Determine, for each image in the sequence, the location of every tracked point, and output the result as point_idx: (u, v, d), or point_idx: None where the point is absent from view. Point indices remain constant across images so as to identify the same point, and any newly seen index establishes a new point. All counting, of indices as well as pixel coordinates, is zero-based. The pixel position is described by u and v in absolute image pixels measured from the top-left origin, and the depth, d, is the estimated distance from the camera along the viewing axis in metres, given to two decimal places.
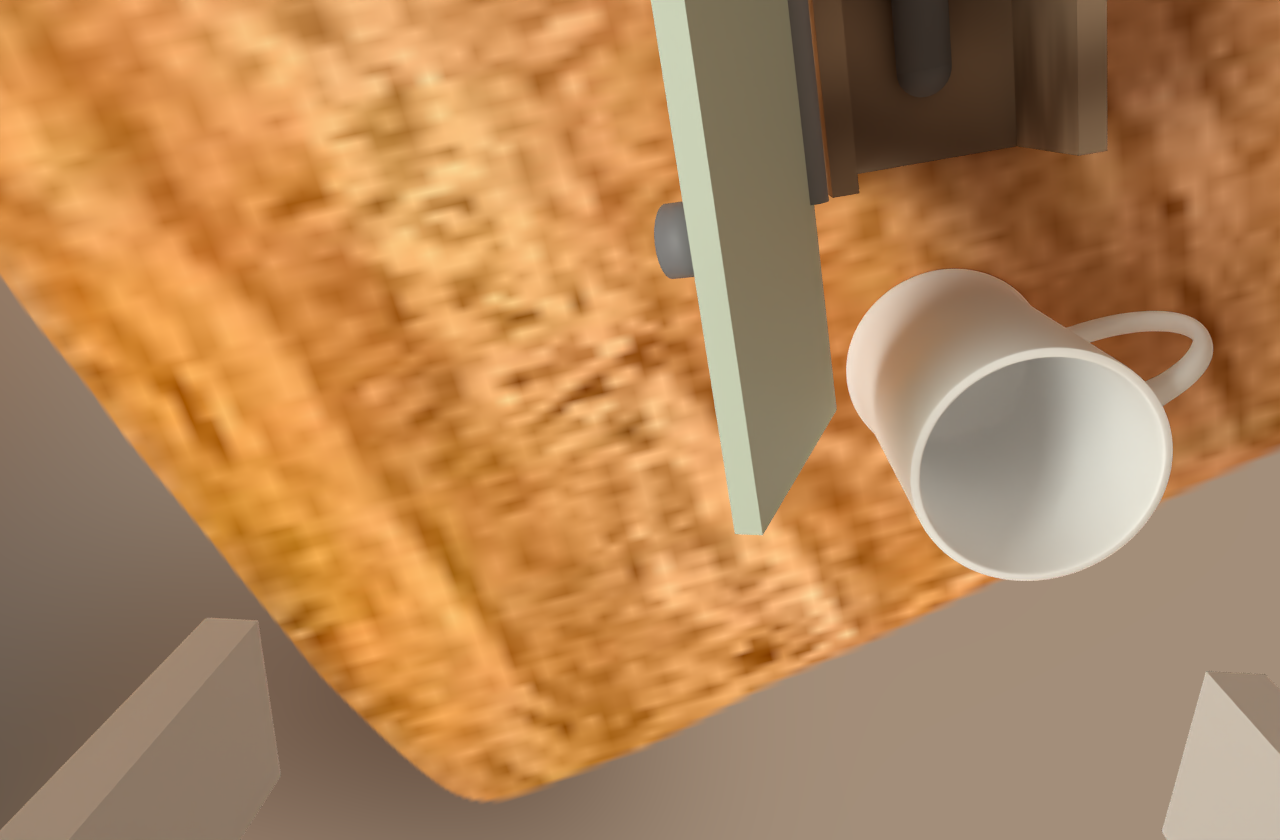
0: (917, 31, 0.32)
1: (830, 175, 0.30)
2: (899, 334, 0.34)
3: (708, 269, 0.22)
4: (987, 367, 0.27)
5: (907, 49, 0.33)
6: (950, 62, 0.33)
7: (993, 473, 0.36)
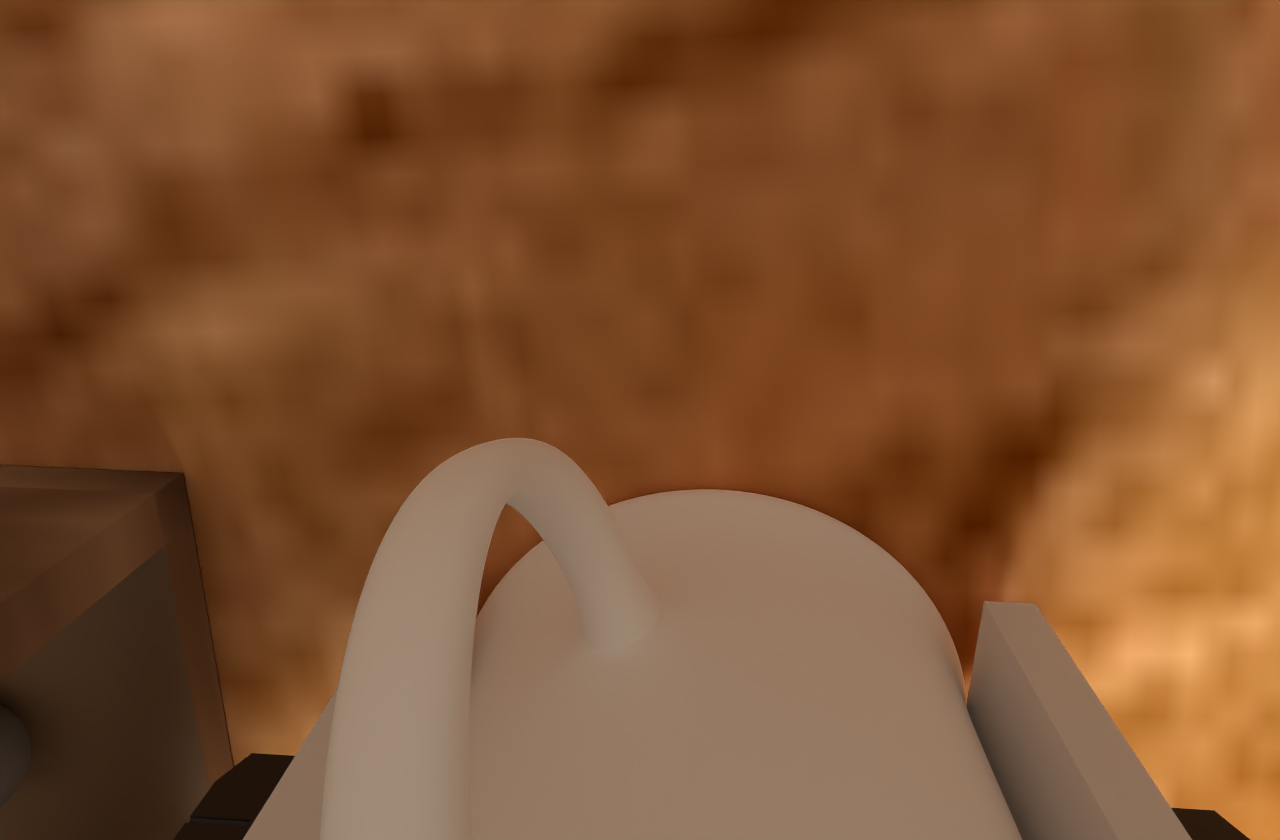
0: None
1: None
2: None
3: None
4: None
5: None
6: None
7: None
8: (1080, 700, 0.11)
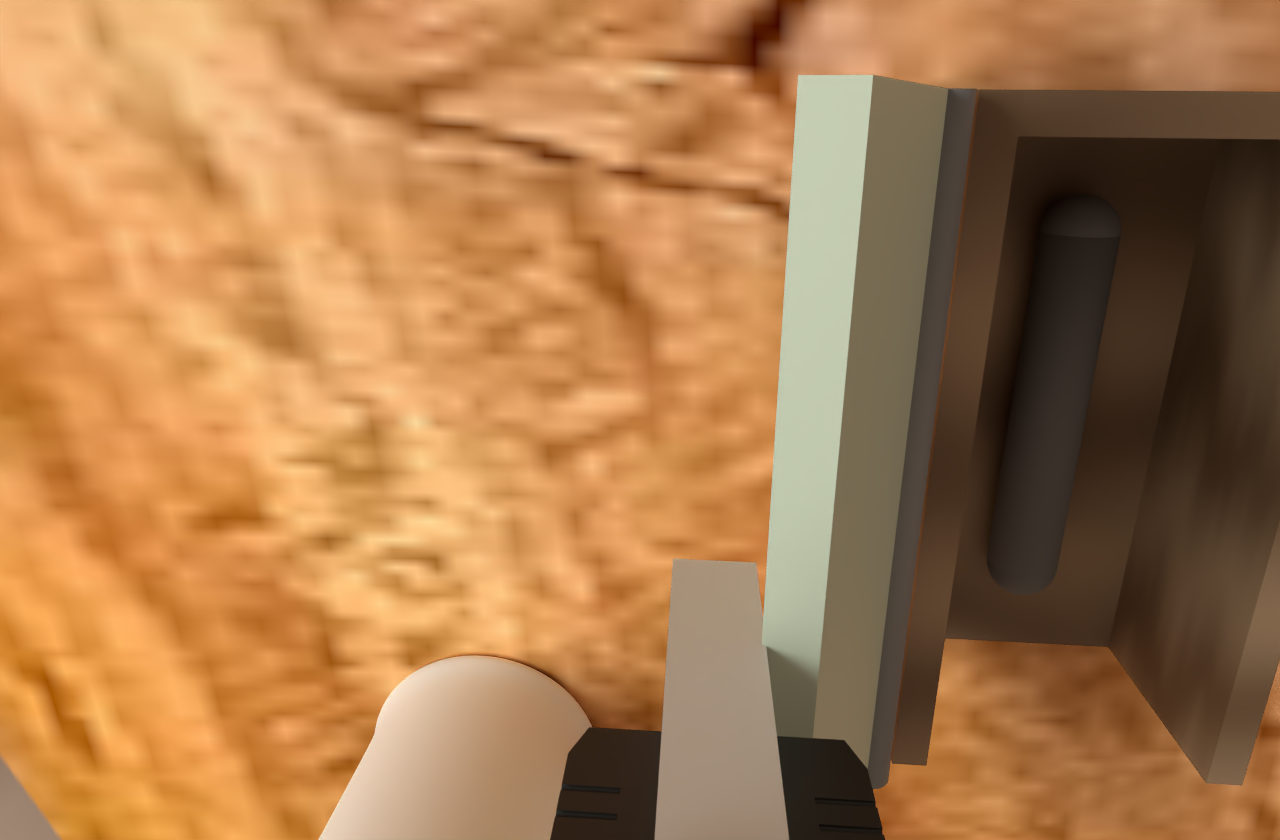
0: (1026, 535, 0.26)
1: (895, 738, 0.24)
2: (365, 768, 0.28)
3: None
4: None
5: (1009, 548, 0.26)
6: (1056, 569, 0.27)
7: None
8: (748, 644, 0.12)
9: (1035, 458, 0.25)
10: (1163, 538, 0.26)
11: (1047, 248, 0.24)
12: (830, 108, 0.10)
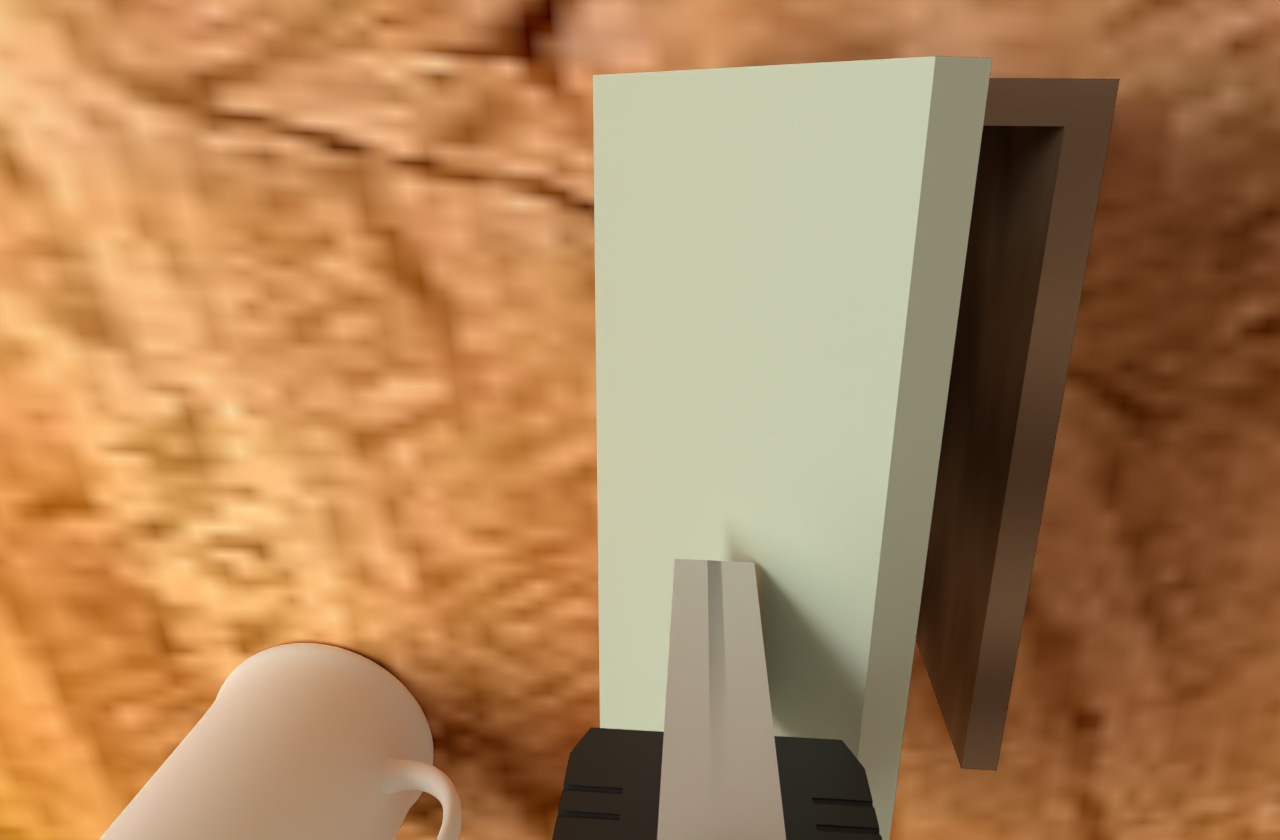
0: None
1: None
2: (174, 752, 0.29)
3: None
4: None
5: None
6: None
7: None
8: (745, 644, 0.12)
9: None
10: (944, 526, 0.26)
11: None
12: (958, 90, 0.10)
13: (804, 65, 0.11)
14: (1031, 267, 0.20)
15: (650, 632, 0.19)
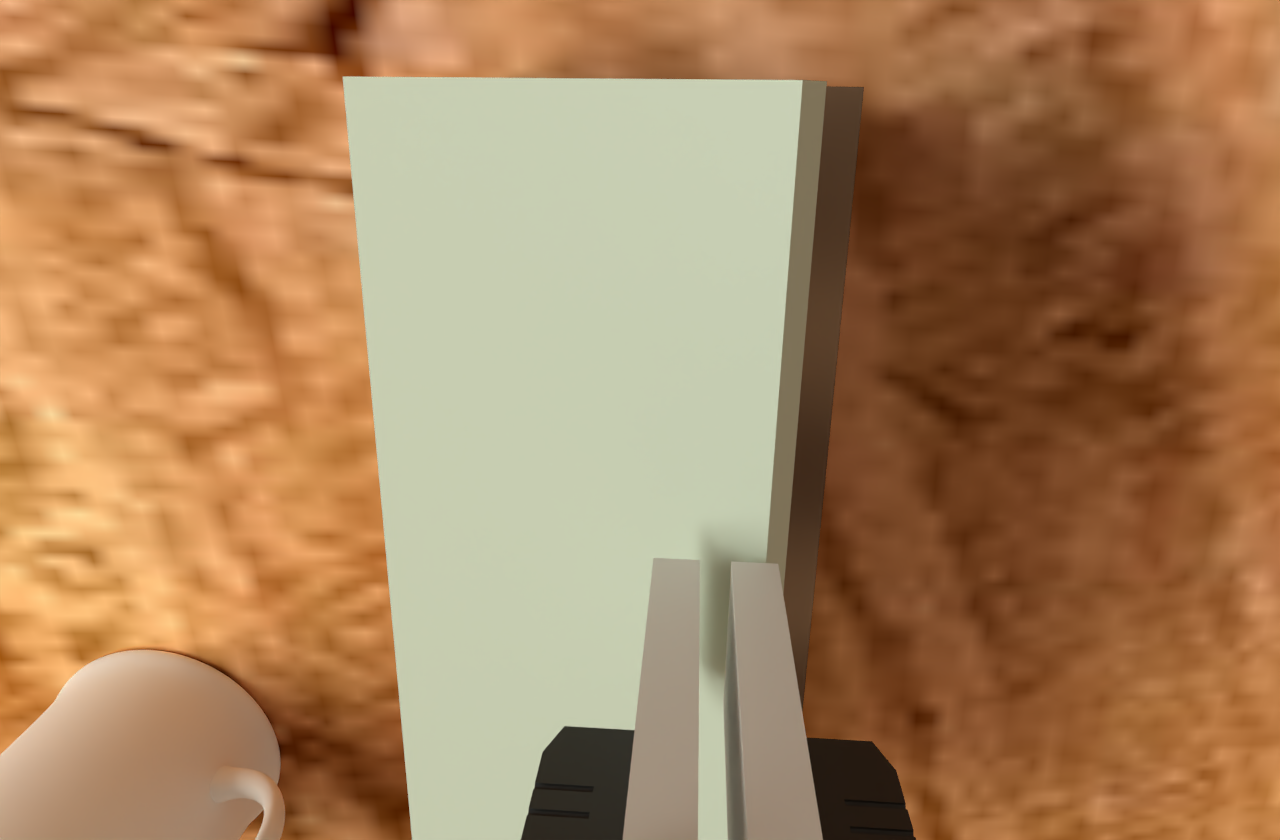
0: None
1: None
2: None
3: None
4: None
5: None
6: None
7: None
8: (773, 645, 0.12)
9: None
10: None
11: None
12: (812, 106, 0.12)
13: (655, 80, 0.13)
14: None
15: (478, 624, 0.19)
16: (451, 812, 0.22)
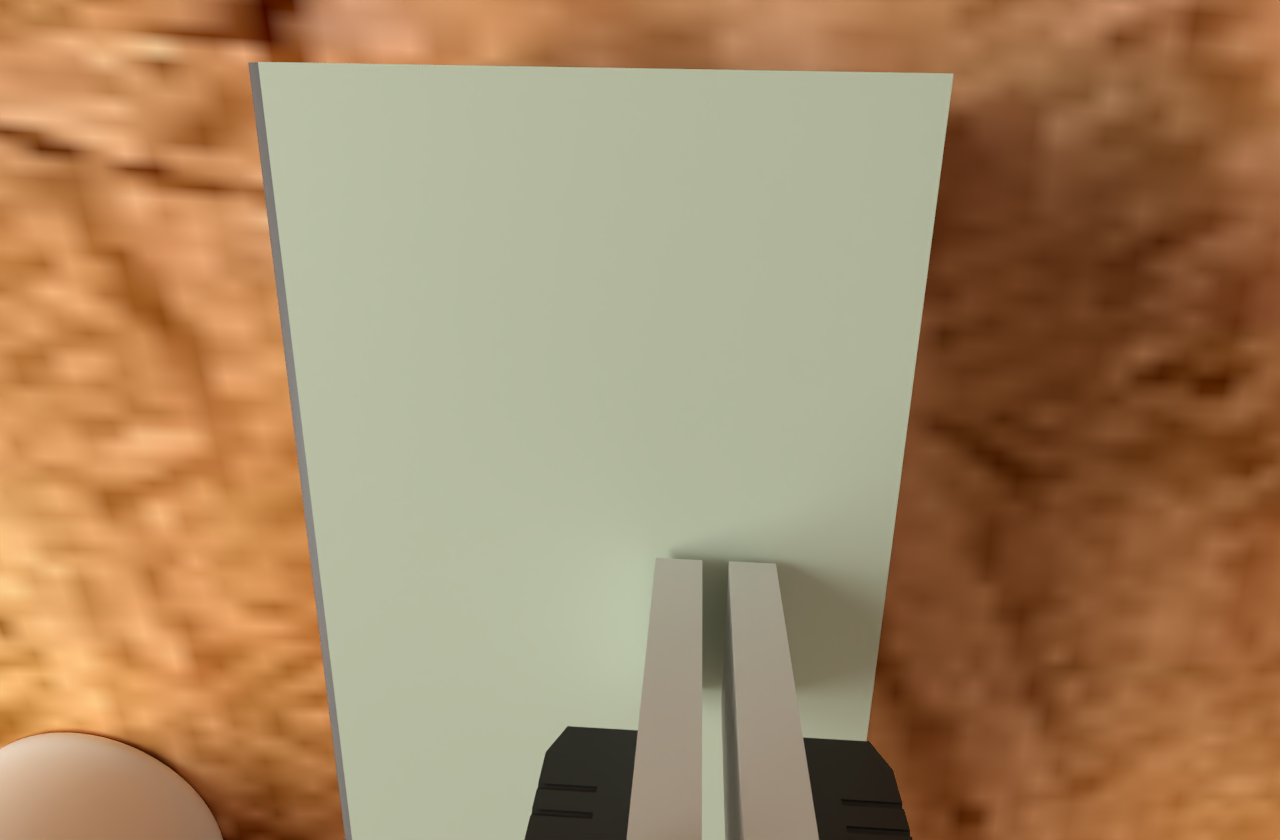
0: None
1: None
2: None
3: None
4: None
5: None
6: None
7: None
8: (771, 645, 0.12)
9: None
10: None
11: None
12: None
13: (773, 72, 0.12)
14: None
15: (490, 722, 0.16)
16: None
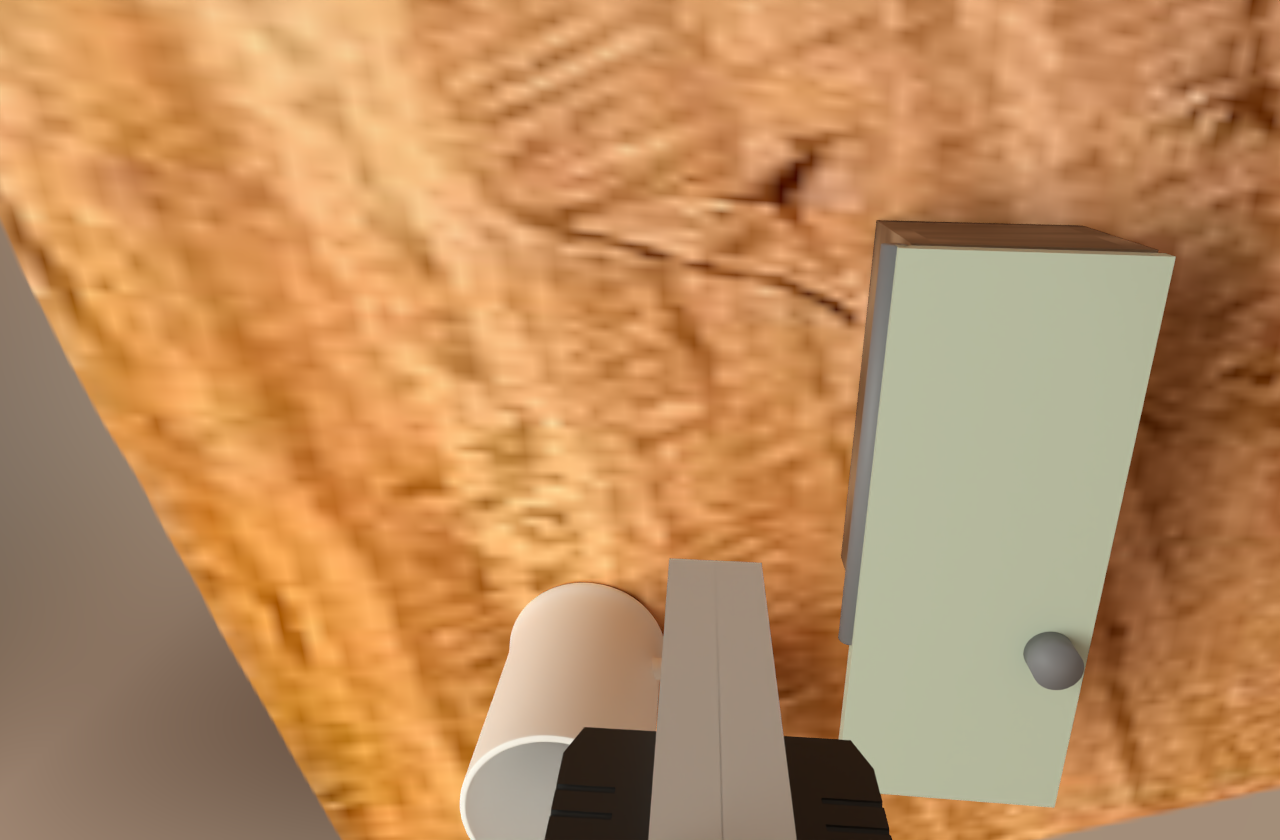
0: None
1: None
2: (521, 650, 0.43)
3: None
4: (516, 741, 0.36)
5: None
6: None
7: None
8: (753, 644, 0.12)
9: None
10: None
11: None
12: None
13: (1106, 255, 0.31)
14: None
15: (940, 529, 0.36)
16: (890, 653, 0.38)
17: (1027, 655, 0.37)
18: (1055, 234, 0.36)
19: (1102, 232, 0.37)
